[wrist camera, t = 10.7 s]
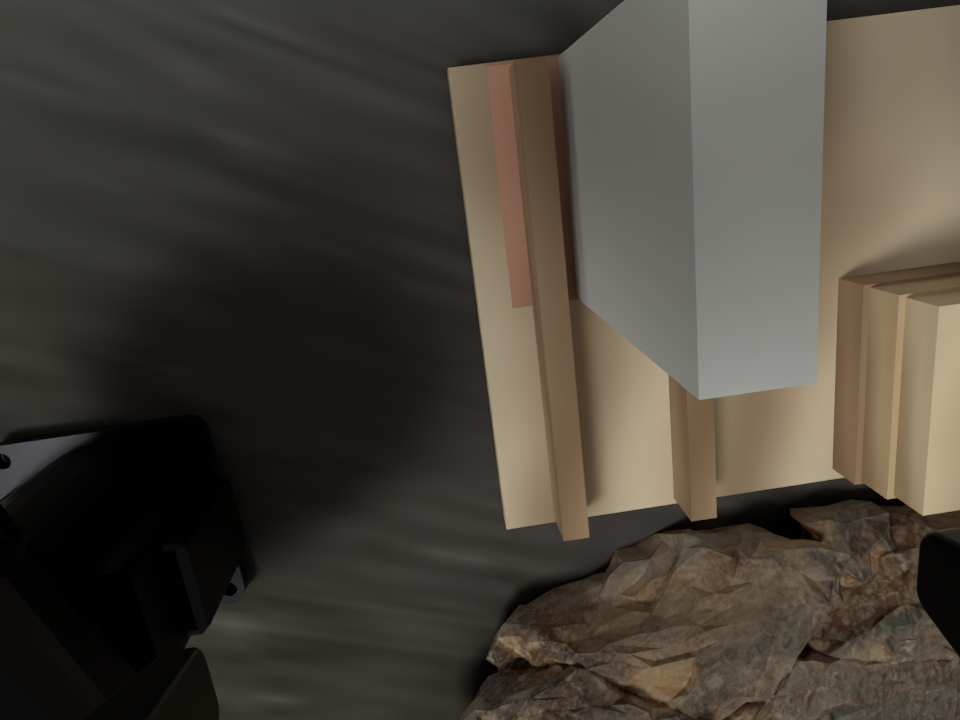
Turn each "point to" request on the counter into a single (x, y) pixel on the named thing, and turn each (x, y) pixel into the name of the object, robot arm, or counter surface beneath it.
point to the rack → (619, 364)
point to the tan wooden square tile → (861, 359)
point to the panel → (701, 185)
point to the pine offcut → (930, 405)
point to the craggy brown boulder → (737, 629)
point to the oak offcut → (888, 376)
